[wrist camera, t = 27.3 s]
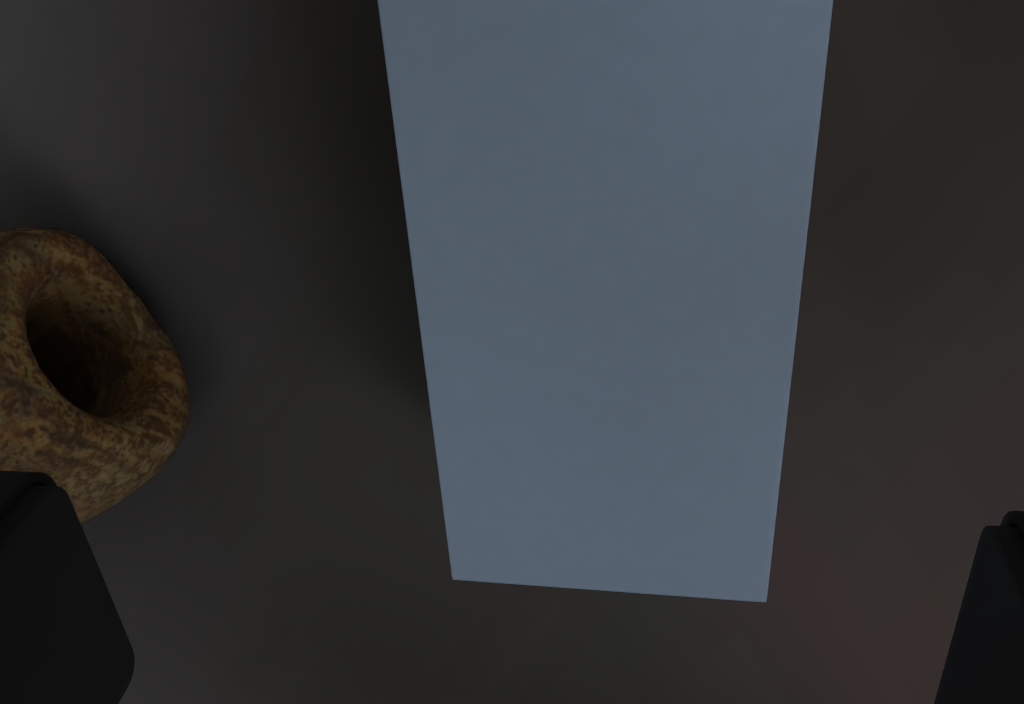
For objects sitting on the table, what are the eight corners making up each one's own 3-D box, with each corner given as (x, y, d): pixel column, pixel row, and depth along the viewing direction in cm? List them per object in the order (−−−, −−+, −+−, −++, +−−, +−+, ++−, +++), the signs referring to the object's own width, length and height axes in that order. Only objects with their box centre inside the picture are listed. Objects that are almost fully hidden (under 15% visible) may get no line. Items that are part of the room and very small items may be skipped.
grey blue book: (440, -97, 16) (368, -58, 13) (805, -115, 15) (842, -80, 12) (490, 448, 23) (451, 580, 19) (753, 461, 22) (766, 603, 18)
